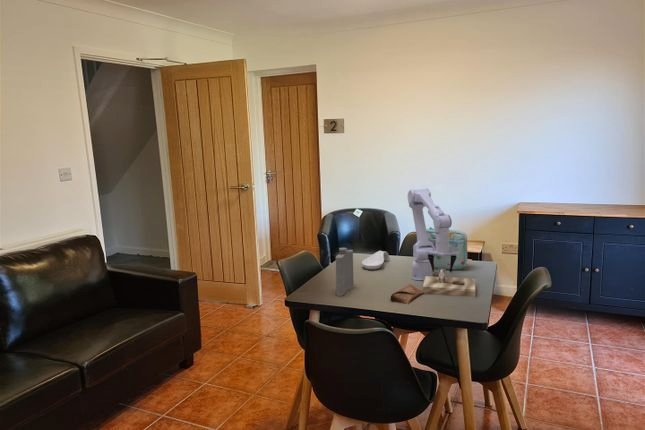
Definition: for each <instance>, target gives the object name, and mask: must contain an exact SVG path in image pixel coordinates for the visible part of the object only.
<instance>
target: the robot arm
mask: <svg viewBox="0 0 645 430" xmlns="http://www.w3.org/2000/svg"><path fill="white" fill-rule="evenodd" d="M431 194H432V193H431V191H430V189H429V188H421V189H419V188H418V189H413V188H411V189H409V191H408V192H407V202H408V207H409V208H410V209H411V210H412V211H411V212H412V215H413V222H414V228H415V233H416V242H415V243H414V244H413V246H412V249H413V250H412V252H413V253H412V255H413V258H414V260H412V272H411V275H412V279H411V280H414V281H424V280H425V277H426V276H430V277H434V275H433V273H434V272H435V269H434V259H435V257H436V256H451V262H450V269H449V273H452V272H453V270H452V267H453V265H454V262H455V260H456V257H459V252H455V251H449V230H450V228H451V227H452V225H453V220H452V218H451V215H450V214H447V213H444V211H443V210H442V209H441V207H440V206H439V205H437V204H435V203H434V201H433V200H432V195H431ZM424 208H427V209H428V210H427V213H428V215H429V216H430V218H431V219H432V223H433V227H434V228H433V229H435V232H436V250H435V248H434V245H433V243H432V242H430V241H429V240H428V237H427V232H426V229H427V227H426V221H425V216H424ZM417 240H418V242H417ZM419 247H424V248H419Z"/></svg>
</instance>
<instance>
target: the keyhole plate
mask: <svg viewBox="0 0 645 430" xmlns="http://www.w3.org/2000/svg"><path fill="white" fill-rule="evenodd" d="M422 285H423V286H422V292H424V293H425V294H424V295H438V296H439V295H442V296H456V297H457V296H459V297H474V298H475V297H476V280H475V278H469V277H467V278H465V277H447V276H445V281H443V283H441V281H439V276H433V277H430V276H426V277H425V280H423V283H422Z"/></svg>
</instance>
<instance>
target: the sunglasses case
mask: <svg viewBox="0 0 645 430" xmlns="http://www.w3.org/2000/svg"><path fill="white" fill-rule="evenodd" d="M422 295H426V294H425V293H424V292H423V290H421V289H419V288H417V287H416V286H414V285H412V284H411V283H410V284H408V285H406V286H403V288H401V289H399V290H398V291H396V292H394V293H392V294H391V296H390V301H391V302H392V303H397V304H402V303H403V304H404V305H409V304H410V303H412V302H413V301H414V300H416V299H418V298H420V297H421V296H422ZM403 304H402V305H403Z"/></svg>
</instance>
